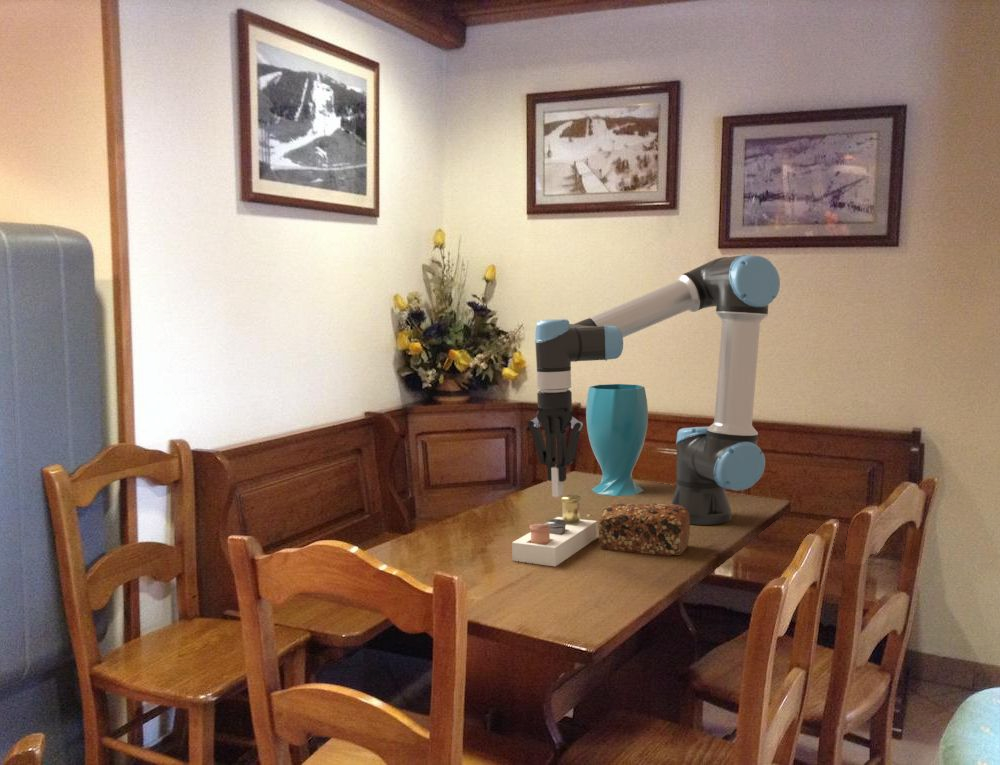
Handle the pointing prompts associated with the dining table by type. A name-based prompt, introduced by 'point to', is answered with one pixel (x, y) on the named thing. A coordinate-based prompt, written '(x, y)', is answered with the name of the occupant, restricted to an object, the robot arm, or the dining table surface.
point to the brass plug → (571, 508)
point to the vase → (617, 434)
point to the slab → (555, 544)
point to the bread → (645, 528)
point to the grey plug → (556, 526)
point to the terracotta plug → (540, 533)
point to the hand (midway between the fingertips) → (557, 495)
